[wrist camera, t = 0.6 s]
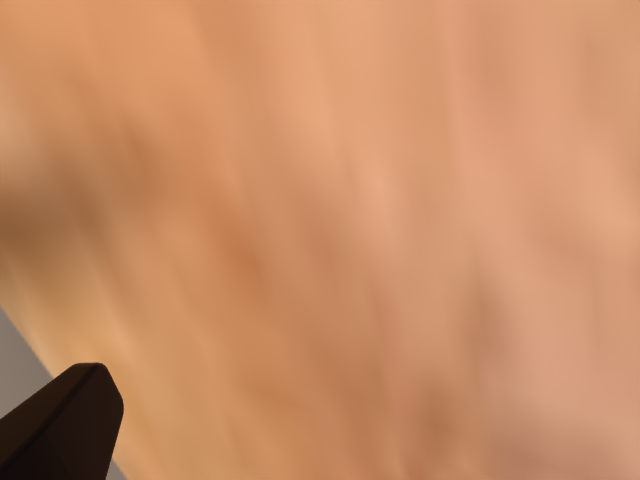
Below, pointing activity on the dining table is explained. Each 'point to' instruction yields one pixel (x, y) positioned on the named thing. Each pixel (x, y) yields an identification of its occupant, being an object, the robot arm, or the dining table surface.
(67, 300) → the dining table surface
